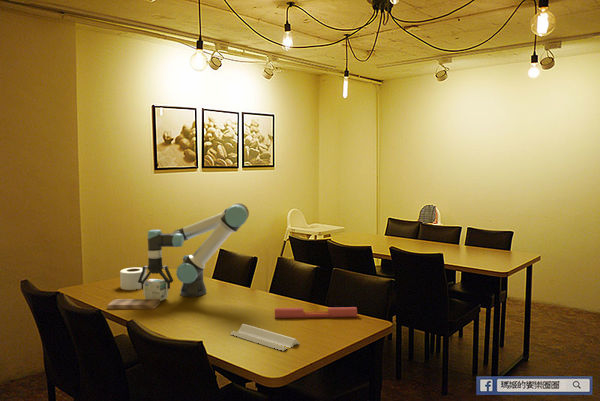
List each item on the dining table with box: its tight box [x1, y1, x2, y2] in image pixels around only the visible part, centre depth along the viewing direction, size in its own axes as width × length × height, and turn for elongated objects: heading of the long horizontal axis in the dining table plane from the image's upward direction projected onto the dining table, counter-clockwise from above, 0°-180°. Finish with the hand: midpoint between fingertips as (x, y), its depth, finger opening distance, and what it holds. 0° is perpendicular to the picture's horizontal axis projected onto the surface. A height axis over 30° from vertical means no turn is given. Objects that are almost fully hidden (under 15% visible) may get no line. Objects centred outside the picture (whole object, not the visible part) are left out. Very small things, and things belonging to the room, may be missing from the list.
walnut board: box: [107, 298, 161, 310], centre depth 263 cm, size 25×11×2 cm, turn 92°
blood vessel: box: [274, 306, 358, 319], centre depth 247 cm, size 42×5×5 cm, turn 94°
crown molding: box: [230, 323, 301, 352], centre depth 216 cm, size 31×12×4 cm, turn 52°
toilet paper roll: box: [119, 266, 147, 291], centre depth 303 cm, size 16×15×11 cm
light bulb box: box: [144, 278, 168, 302], centre depth 275 cm, size 11×7×11 cm, turn 71°
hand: (156, 294), depth 275 cm, fingers closed on light bulb box, 12 cm apart
